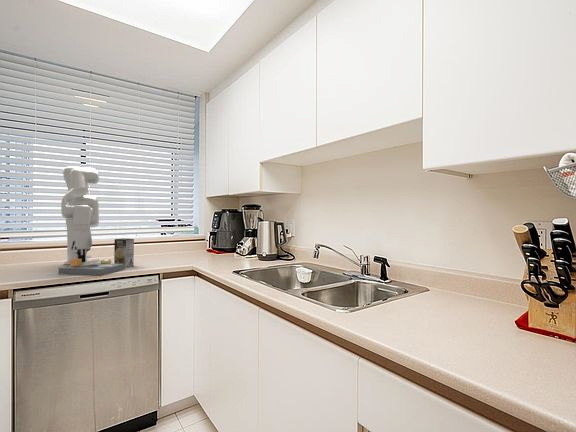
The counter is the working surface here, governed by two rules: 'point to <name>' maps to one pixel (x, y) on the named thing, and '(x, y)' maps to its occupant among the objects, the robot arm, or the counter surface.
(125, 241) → the coffee box
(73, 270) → the switch panel
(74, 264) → the orange slider
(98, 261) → the plate
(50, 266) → the counter surface
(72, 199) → the robot arm
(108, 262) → the brass button
